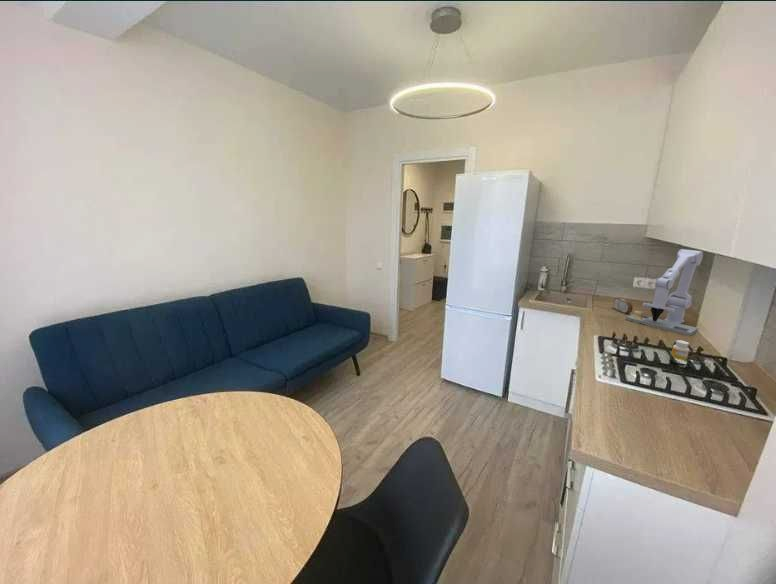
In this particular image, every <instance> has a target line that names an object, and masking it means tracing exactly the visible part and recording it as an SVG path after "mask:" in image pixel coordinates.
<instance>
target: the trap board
mask: <svg viewBox="0 0 776 584" xmlns="http://www.w3.org/2000/svg"><path fill="white" fill-rule="evenodd" d="M632 317H633V313H632V314H630V315H628V316H626V318H625V321H627V320H629V321H628V322H631V321H633V322H632V323H635V322H638V323H637V324H639V323H642V324H641V325H643V324H646V325H645V326H647V325H649V326H648V327H651V326H653V327H652V328H655V327H657V328H656V329H659V328H660V330H663V331H668V332H670V333H672V332H673V333H676V334H680V335H684V336H688V337H691V336H693V335H694V334H696V332H698V329H699V328H698V327H696V326H691V325H686V324H683V323H681V324H679V323H674V322H670V321H666V320H664V319H660V318H658V319H657V321H653V316H648V315H643V319H641V320H639V319H635V318H632Z"/></svg>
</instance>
